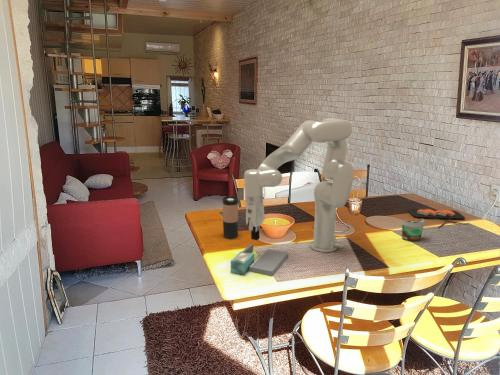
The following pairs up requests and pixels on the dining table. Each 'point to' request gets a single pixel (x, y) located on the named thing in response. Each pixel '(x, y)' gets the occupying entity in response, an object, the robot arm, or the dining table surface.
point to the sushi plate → (437, 214)
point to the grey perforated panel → (267, 261)
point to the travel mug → (230, 217)
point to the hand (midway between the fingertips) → (255, 239)
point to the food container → (412, 230)
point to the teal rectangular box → (242, 263)
